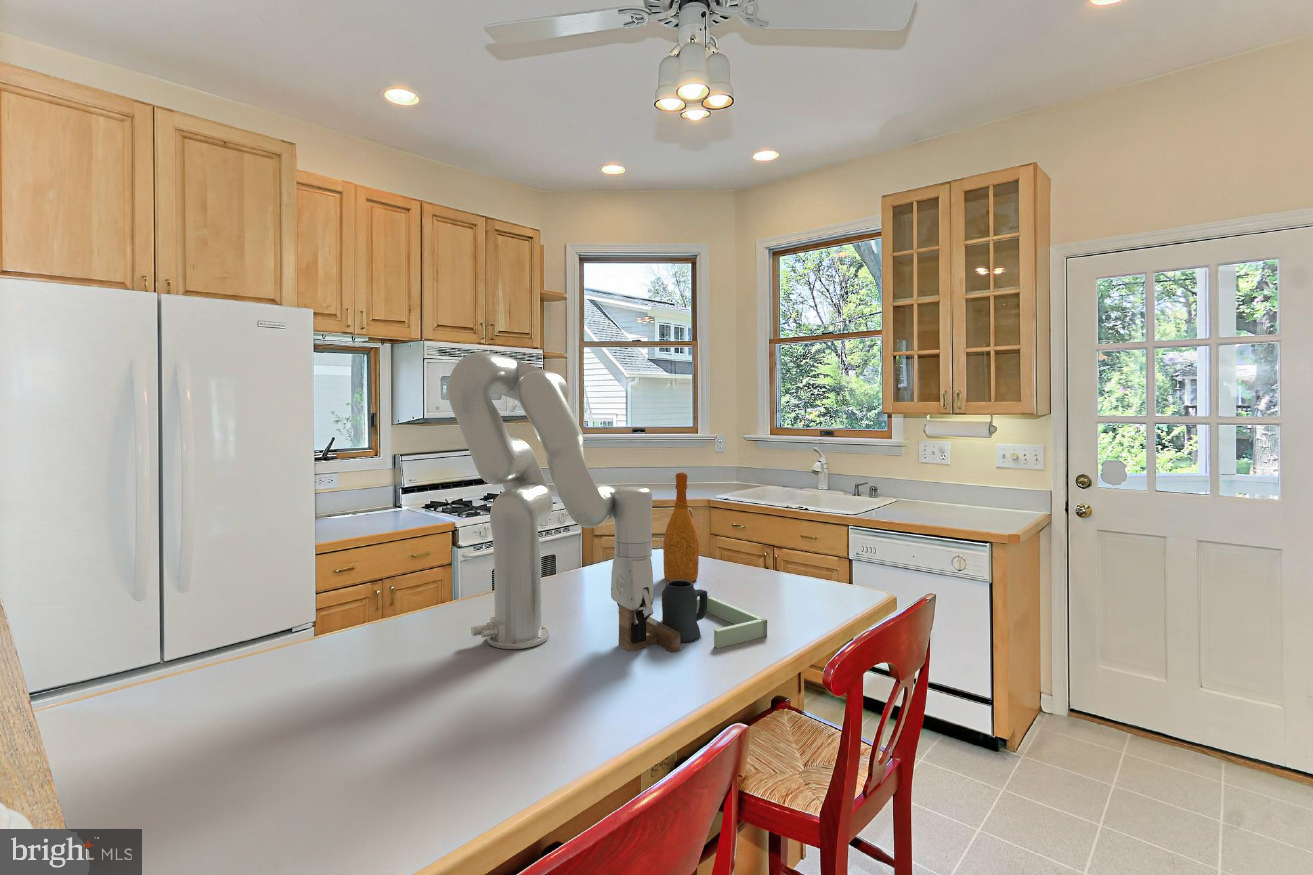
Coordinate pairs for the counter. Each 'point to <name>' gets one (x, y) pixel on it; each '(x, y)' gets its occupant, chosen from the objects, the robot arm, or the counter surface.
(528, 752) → the counter surface
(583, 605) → the counter surface
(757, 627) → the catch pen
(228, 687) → the counter surface
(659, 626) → the wooden cross block
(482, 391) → the robot arm
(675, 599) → the mug
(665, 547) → the wine bottle
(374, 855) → the counter surface
